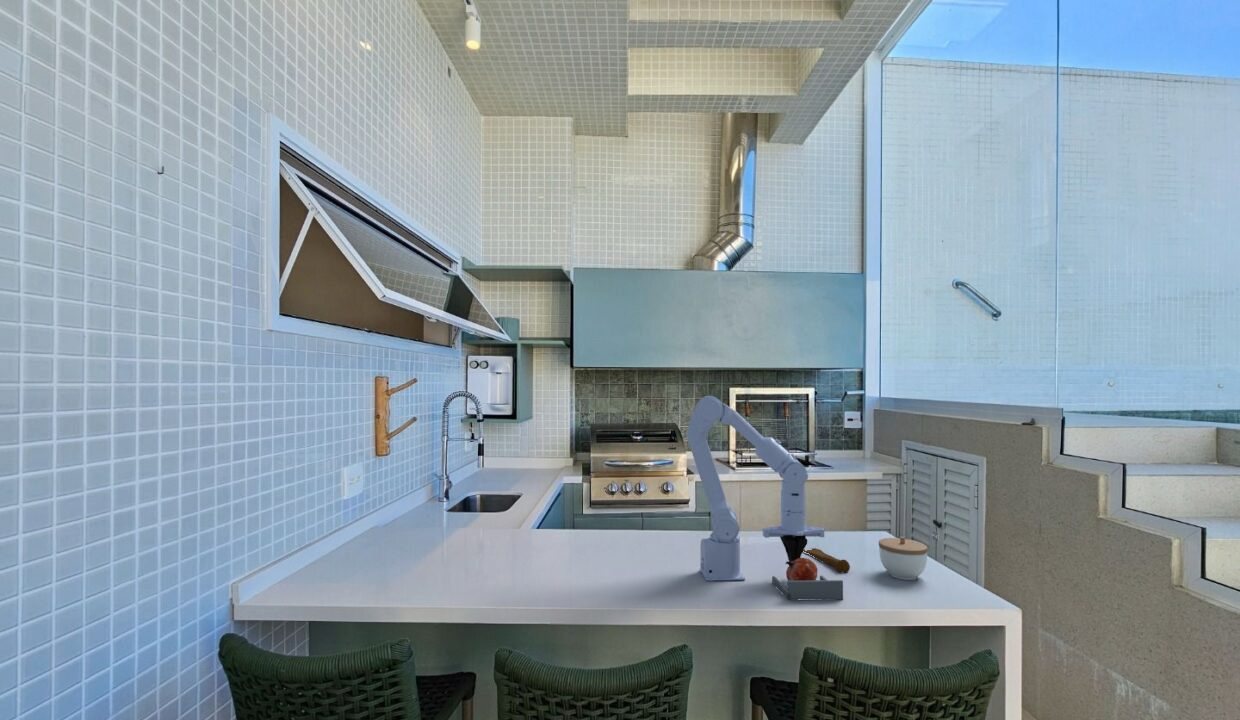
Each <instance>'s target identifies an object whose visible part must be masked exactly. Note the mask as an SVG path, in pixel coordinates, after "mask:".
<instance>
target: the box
mask: <svg viewBox="0 0 1240 720" xmlns="http://www.w3.org/2000/svg"><path fill="white" fill-rule="evenodd" d="M786 583H787V585H786V586H784V584H783V583H781V581H780V580H779V579H778V578H777V577H776V576H774V575H773V576H772V577H771V584H772V585H774V587H777V588H778V589H779V590H780V591H781V592H782V593H783V594H782V593H781V592H780V591H779V590H778V589H777V588H776V589H777V590H778V591H779V592H780V593H781V594H782V595H783V596H784V597H785V599H786V600H787V601H788V600H789V601H799V600H798V599H825V600H824V601H830V600H829V599H843V600H844V581H843V580H842V579H827V578H826V577H825V576H823V575H819V579H816V580H809V581H788V580H786ZM826 599H828V600H826Z"/></svg>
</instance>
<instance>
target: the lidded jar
mask: <svg viewBox="0 0 1240 720" xmlns="http://www.w3.org/2000/svg"><path fill="white" fill-rule="evenodd" d="M878 546H879V559H880V562H881V564H882V566H883V568H884V569H885V570H886V572H888V574H889V575H890V576H891V577H893V578H895V579H898V580H904V581H914V580H918V579H917V578H918V577H919V576H921V575H922V574H923V573H924V572H925V570H926V567H927V566H926V565H927V561H928V546H927V545H926V544H924V543H922V542H919V541H918V540H913V539H908V538H906V537H905V536H900V537H899V538H898V537H886V538H881V539H879V540H878Z"/></svg>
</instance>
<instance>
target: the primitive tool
mask: <svg viewBox="0 0 1240 720" xmlns="http://www.w3.org/2000/svg"><path fill="white" fill-rule="evenodd" d="M811 549H812V550H807V551H805V549H804V550H803V551H804V552H806V553H809V554H810V555H812V556H814V557H815V558H817V559H816V560H818V559H819V560H821V561H823V562H824V564H825V563H826V565H827V564H828V566H830V567H832V568H834V569H835V570H836V571H837V572H838V573H839V572H847V573H848V572H849V571H850V569H851V566H850V563H849V562H848V560H847V559H839V558H836V557H834V556H832V555H830V554H828V553H825V552H824V551H822V550H821V549H819V548H816V547H815V548H814V547H813V548H812V547H811ZM815 558H814V559H815ZM819 560H818V561H819ZM821 561H820V562H821ZM823 562H822V563H823Z"/></svg>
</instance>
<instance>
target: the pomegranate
mask: <svg viewBox="0 0 1240 720" xmlns="http://www.w3.org/2000/svg"><path fill="white" fill-rule="evenodd" d="M785 565H788V566H787V569H786V571H785V574H786V578H787V581H809V580H817V577H818V572H819V571H818V567H817V564H815V562H814V561H812V560H811V559H809V558H807V557H800V558H798V559H796V560H793V561H792V562H791V563H790V562H789V560H788V561H787V560H786V561H785Z"/></svg>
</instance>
